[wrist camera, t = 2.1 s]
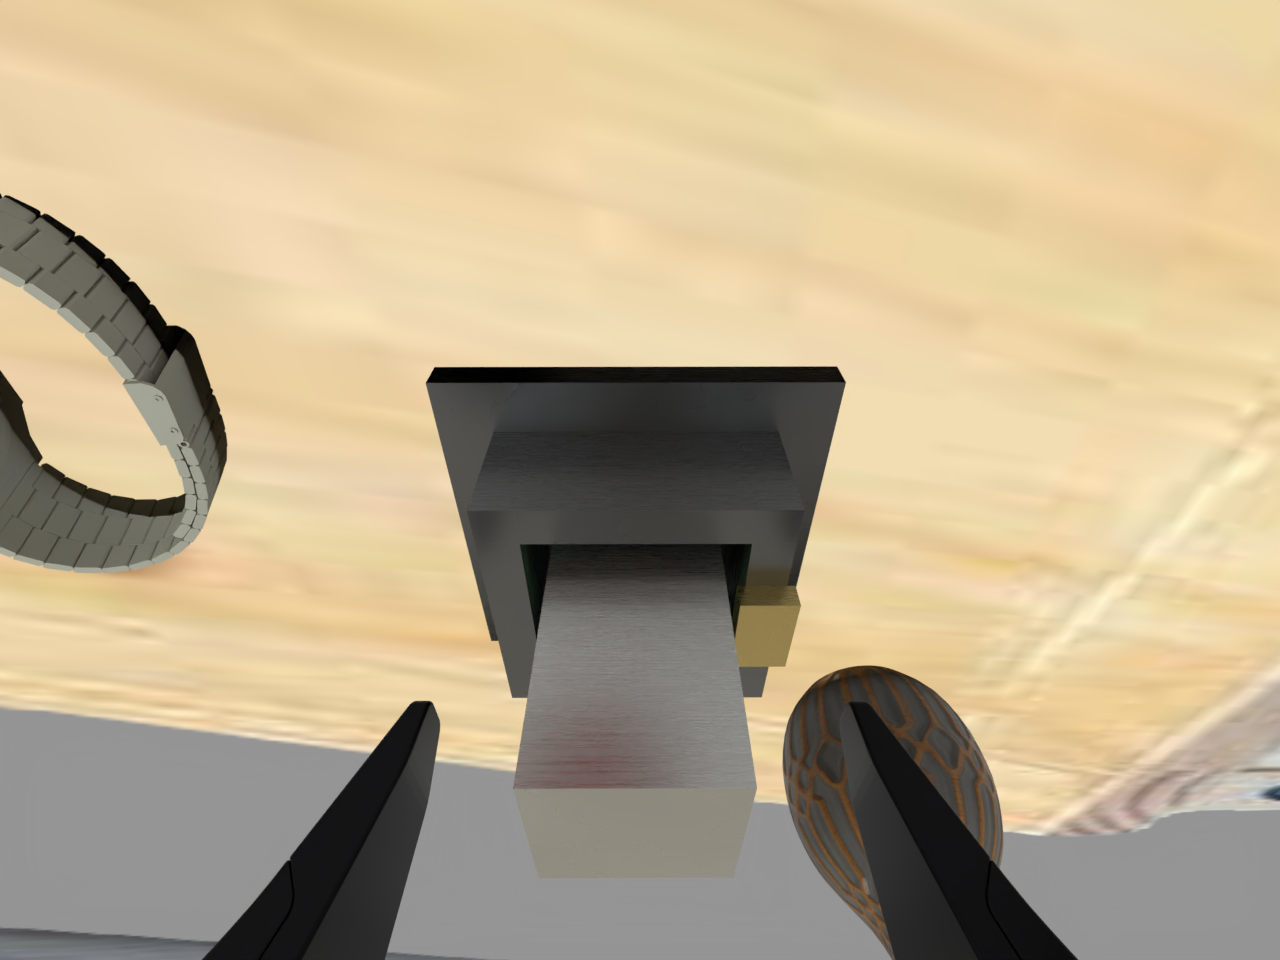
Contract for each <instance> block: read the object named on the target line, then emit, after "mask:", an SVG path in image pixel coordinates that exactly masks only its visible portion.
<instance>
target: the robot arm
mask: <svg viewBox="0 0 1280 960" xmlns="http://www.w3.org/2000/svg"><path fill="white" fill-rule="evenodd" d="M439 734H440V719H439V717H438V714H437V712H436V709H435V707H434V704H433V702H431V701H414V702H412V703H411V704H410V705H409V706H408V707H407V708H406V710H405V711H404V712H403V714H402V715H401V716H400V717H399V719H398V720H397V721H396V722H395V724H394V725H393V726H392V728H391V729H390V730H389V731H388V733H387V734H386V735H385V736H384V738H383V739H382V740H381V742H380V743H379V744H378V745H377V747H376V748H375V749H374V750H373V752H372V753H371V754H370V756H369V757H368V758H367V759H366V761H365V762H364V763H363V764H362V766H361V767H360V768H359V770H358V771H357V772H356V773H355V775H354V776H353V777H352V778H351V780H350V781H349V782H348V784H347V785H346V786H345V787H344V789H343V790H342V791H341V792H340V794H339V795H338V796H337V798H336V799H335V800H334V801H333V803H332V804H331V805H330V806H329V808H328V809H327V810H326V812H325V813H324V814H323V815H322V817H321V818H320V819H319V820H318V822H317V823H316V824H315V825H314V827H313V828H312V829H311V831H310V832H309V833H308V834H307V836H306V837H305V838H304V839H303V841H302V842H301V843H300V845H299V846H298V847H297V848H296V850H295V851H294V852H293V853H292V855H291V856H290V860H287V861H286V862H285V863H284V865H283V866H282V867H281V868H280V870H279V871H278V872H277V874H276V875H275V876H274V877H273V879H272V880H271V881H270V882H269V884H268V885H267V886H266V887H265V888H264V890H263V891H262V892H261V893H260V895H259V896H258V897H257V898H256V899H255V901H254V902H253V903H252V904H251V906H250V907H249V908H248V909H247V910H246V911H245V912H244V913H243V914H242V916H241V917H240V918H239V919H238V920H237V921H236V922H235V923H234V925H233V926H232V927H231V928H230V929H229V930H228V931H227V932H226V934H225V935H224V936H223V937H222V938H221V939H220V940H219V941H218V942H217V943H216V944H215V946H214V947H213V948H212V949H211V950H210V951H209V952H208V953H207V954H206V955H205V956H204V957H203V959H202V960H385V958H386V954H387V950H388V947H389V943H390V940H391V936H392V932H393V929H394V925H395V921H396V918H397V914H398V911H399V907H400V903H401V900H402V896H403V892H404V889H405V885H406V882H407V878H408V874H409V871H410V867H411V863H412V860H413V856H414V853H415V849H416V845H417V842H418V838H419V835H420V831H421V827H422V824H423V820H424V816H425V813H426V809H427V805H428V800H429V795H430V789H431V783H432V777H433V771H434V765H435V758H436V752H437V746H438V740H439ZM840 734H841V740H842V746H843V752H844V758H845V765H846V771H847V777H848V783H849V789H850V795H851V800H852V805H853V809H854V813H855V816H856V820H857V824H858V827H859V831H860V835H861V838H862V842H863V845H864V849H865V853H866V856H867V860H868V863H869V867H870V871H871V874H872V878H873V882H874V885H875V889H876V892H877V896H878V900H879V903H880V907H881V911H882V914H883V918H884V921H885V925H886V929H887V932H888V936H889V939H890V943H891V947H892V950H893V954H894V958H895V960H1078V959H1077V957H1076V956H1075V955H1074V954H1073V953H1072V952H1071V951H1070V950H1069V949H1068V948H1067V947H1066V946H1065V944H1064V943H1063V942H1062V941H1061V940H1060V939H1059V938H1058V937H1057V936H1056V935H1055V934H1054V932H1053V931H1052V930H1051V929H1050V928H1049V927H1048V926H1047V925H1046V923H1045V922H1044V921H1043V920H1042V919H1041V918H1040V917H1039V916H1038V915H1037V913H1036V912H1035V911H1034V910H1033V909H1032V908H1031V907H1030V906H1029V904H1028V903H1027V902H1026V901H1025V899H1024V898H1023V897H1022V896H1021V895H1020V893H1019V892H1018V891H1017V890H1016V888H1015V887H1014V886H1013V885H1012V884H1011V882H1010V881H1009V880H1008V879H1007V877H1006V876H1005V875H1004V874H1003V872H1002V871H1001V870H1000V868H999V867H998V866H997V865H996V863H995V862H994V861H993V860H990V856H989V855H988V853H987V852H986V851H985V850H984V848H983V847H982V846H981V844H980V843H979V842H978V841H977V839H976V838H975V837H974V836H973V834H972V833H971V832H970V831H969V829H968V828H967V827H966V825H965V824H964V823H963V822H962V820H961V819H960V818H959V817H958V815H957V814H956V813H955V811H954V810H953V809H952V808H951V806H950V805H949V804H948V803H947V801H946V800H945V799H944V797H943V796H942V795H941V794H940V792H939V791H938V790H937V789H936V787H935V786H934V785H933V783H932V782H931V781H930V780H929V778H928V777H927V776H926V775H925V773H924V772H923V771H922V769H921V768H920V767H919V766H918V764H917V763H916V762H915V761H914V759H913V758H912V757H911V756H910V754H909V753H908V752H907V750H906V749H905V748H904V747H903V745H902V744H901V743H900V742H899V740H898V739H897V738H896V736H895V735H894V734H893V733H892V731H891V730H890V729H889V728H888V726H887V725H886V724H885V722H884V721H883V720H882V719H881V717H880V716H879V715H878V714H877V712H876V711H875V710H874V708H873V707H872V706H871V705H870V704H869V703H868V702H866V701H849V702H847V704H846V707H845V709H844V712H843V714H842V717H841V719H840Z"/></svg>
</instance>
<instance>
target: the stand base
mask: <svg viewBox="0 0 1280 960" xmlns="http://www.w3.org/2000/svg"><path fill="white" fill-rule="evenodd" d="M845 385H846V381H845V380H844V378H843V376H842V374H841V372H840V370H839V369H838V367H837V366H770V367H434V369H433V371H432V372H431V374H430V376H429V378H428V380H427V381H426V387H427V391H428V395H429V399H430V402H431V406H432V410H433V414H434V418H435V422H436V426H437V430H438V434H439V438H440V442H441V446H442V450H443V454H444V457H445V461H446V465H447V469H448V473H449V477H450V481H451V485H452V489H453V493H454V497H455V501H456V505H457V509H458V512H459V516H460V520H461V524H462V528H463V532H464V536H465V540H466V544H467V548H468V552H469V556H470V560H471V564H472V567H473V571H474V575H475V579H476V583H477V587H478V591H479V595H480V599H481V603H482V607H483V611H484V615H485V619H486V622H487V626H488V630H489V634H490V638H491V641H498V642H499V646H500V650H501V654H502V658H503V662H504V666H505V671H506V675H507V679H508V683H509V687H510V691H511V695H512V698H528V691H529V685H530V679H531V673H532V666H533V660H534V654H535V648H536V641H537V635H538V629H539V623H540V616H541V610H542V604H543V598H544V591H545V585H546V579H547V573H548V566H549V560H550V554H551V548H552V544H720V546H721V552H722V559H723V566H724V572H725V579H726V585H727V592H728V599H729V605H730V612H731V619H732V625H733V632H734V638H735V645H736V652H737V658H738V665H739V671H740V678H741V685H742V691H743V697H762V694H763V690H764V686H765V681H766V677H767V672H768V668H769V667H785V666H786V662H787V658H788V654H789V650H790V646H791V643H792V639H793V635H794V631H795V627H796V623H797V619H798V615H799V612H800V608H801V604H800V600H799V596H798V593H797V589H796V586H797V582H798V578H799V574H800V570H801V566H802V562H803V557H804V553H805V549H806V545H807V541H808V537H809V533H810V529H811V525H812V520H813V516H814V512H815V508H816V504H817V500H818V496H819V492H820V487H821V483H822V479H823V475H824V471H825V467H826V463H827V459H828V455H829V450H830V446H831V442H832V438H833V434H834V430H835V426H836V422H837V417H838V413H839V409H840V405H841V401H842V397H843V393H844V389H845Z"/></svg>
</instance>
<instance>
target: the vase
mask: <svg viewBox="0 0 1280 960" xmlns="http://www.w3.org/2000/svg"><path fill="white" fill-rule="evenodd" d="M849 701H866V702H868V703H869V704H870V705H871V706H872V707H873V708H874V710H875V711H876V712H877V714H878V715H879V716H880V717H881V719H882V720H883V721H884V722H885V724H886V725H887V726H888V728H889V729H890V730H891V731H892V733H893V734H894V735H895V736H896V738H897V739H898V740H899V742H900V743H901V744H902V745H903V747H904V748H905V749H906V750H907V752H908V753H909V754H910V756H911V757H912V758H913V759H914V761H915V762H916V763H917V764H918V766H919V767H920V768H921V769H922V771H923V772H924V773H925V775H926V776H927V777H928V778H929V780H930V781H931V782H932V783H933V785H934V786H935V787H936V789H937V790H938V791H939V792H940V794H941V795H942V796H943V797H944V799H945V800H946V801H947V803H948V804H949V805H950V806H951V808H952V809H953V810H954V811H955V813H956V814H957V815H958V817H959V818H960V819H961V820H962V822H963V823H964V824H965V825H966V827H967V828H968V829H969V831H970V832H971V833H972V834H973V836H974V837H975V838H976V839H977V841H978V842H979V843H980V844H981V846H982V847H983V848H984V850H985V851H986V852H987V853H988V855H989V856H990V860H993V861H994V862H995V863H996V865H997V866H998V867H999V868H1000V865H1001V860H1002V853H1003V824H1002V815H1001V809H1000V803H999V798H998V794H997V790H996V787H995V783H994V780H993V777H992V774H991V772H990V769H989V767H988V765H987V762H986V760H985V758H984V756H983V754H982V752H981V750H980V748H979V746H978V744H977V742H976V741H975V739H974V737H973V735H972V734H971V732H970V730H969V729H968V728H967V726H966V725H965V724H964V722H963V721H962V719H961V718H960V717H959V715H958V714H957V713H956V712H955V711H954V710H953V709H952V707H951V706H950V705H949V704H948V703H947V702H946V701H945V700H944V699H943V698H942V697H941V696H939V695H938V694H937V693H936V692H935V691H934V690H933V689H931V688H929V687H928V686H926V685H925V684H923V683H922V682H920V681H918V680H917V679H915V678H913V677H910V676H908V675H906V674H903V673H901V672H898V671H896V670H893V669H890V668H886V667H882V666H872V665H864V666H853V667H848V668H844V669H840V670H837V671H834V672H832V673H829V674H827V675H825V676H823V677H822V678H820V679H819V680H817V681H816V682H815V683H814V684H812V685H811V686H810V688H809V689H808V690H807V691H806V692H805V693H804V695H803V696H802V697H801V698H800V700H799V701H798V702H797V704H796V706H795V708H794V710H793V712H792V714H791V716H790V718H789V720H788V723H787V727H786V731H785V736H784V744H783V760H782V767H783V777H784V785H785V791H786V797H787V802H788V806H789V811H790V814H791V817H792V820H793V823H794V826H795V828H796V830H797V833H798V835H799V838H800V840H801V842H802V844H803V846H804V848H805V850H806V852H807V854H808V856H809V858H810V860H811V861H812V863H813V864H814V866H815V868H816V869H817V871H818V872H819V874H820V875H821V876H822V878H823V879H824V880H825V881H826V883H827V884H828V885H829V886H830V887H831V888H832V889H833V890H834V892H835V893H836V894H837V895H838V896H839V897H840V898H841V899H842V900H843V901H844V902H845V903H846V904H847V905H848V906H849V907H850V909H851V910H852V911H853V912H854V913H855V914H856V915H857V916H858V917H859V918H860V919H861V920H862V921H863V922H864V923H865V924H866V925H867V926H868V927H869V928H870V929H871V930H872V931H873V933H874V934H875V935H876V937H877V938H878V939H879V941H880V942H881V943H882V945H883V946H884V948H885V950H886V951H887V953H888V954H889V956H890V957H891V959H892V960H895V958H894V954H893V950H892V947H891V943H890V939H889V936H888V932H887V929H886V925H885V921H884V918H883V914H882V911H881V907H880V903H879V900H878V896H877V892H876V889H875V885H874V882H873V878H872V874H871V871H870V867H869V863H868V860H867V856H866V853H865V849H864V845H863V842H862V838H861V835H860V831H859V827H858V824H857V820H856V816H855V813H854V809H853V805H852V800H851V795H850V789H849V783H848V777H847V771H846V765H845V758H844V752H843V746H842V740H841V734H840V719H841V717H842V714H843V712H844V709H845V707H846V704H847V702H849Z"/></svg>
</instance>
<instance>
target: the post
mask: <svg viewBox="0 0 1280 960" xmlns="http://www.w3.org/2000/svg"><path fill="white" fill-rule="evenodd" d="M513 791H514V794H515V798H516V801H517V805H518V808H519V811H520V815H521V818H522V822H523V825H524V829H525V832H526V835H527V839H528V842H529V846H530V849H531V853H532V856H533V860H534V863H535V866H536V870H537V873H538V877H539V878H733V877H734V874H735V870H736V866H737V862H738V859H739V855H740V851H741V847H742V843H743V840H744V836H745V832H746V828H747V825H748V821H749V817H750V813H751V809H752V806H753V802H754V798H755V794H756V791H757V784H756V777H755V771H754V764H753V758H752V751H751V744H750V738H749V731H748V724H747V718H746V711H745V705H744V698H743V691H742V685H741V678H740V671H739V665H738V658H737V652H736V645H735V638H734V632H733V625H732V619H731V612H730V605H729V599H728V592H727V585H726V579H725V572H724V566H723V559H722V552H721V546H720V544H552V548H551V554H550V560H549V566H548V573H547V579H546V585H545V591H544V598H543V604H542V610H541V616H540V623H539V629H538V635H537V641H536V648H535V654H534V660H533V666H532V673H531V679H530V685H529V691H528V698H527V704H526V710H525V716H524V722H523V729H522V735H521V741H520V747H519V754H518V760H517V766H516V772H515V779H514V785H513Z"/></svg>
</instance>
